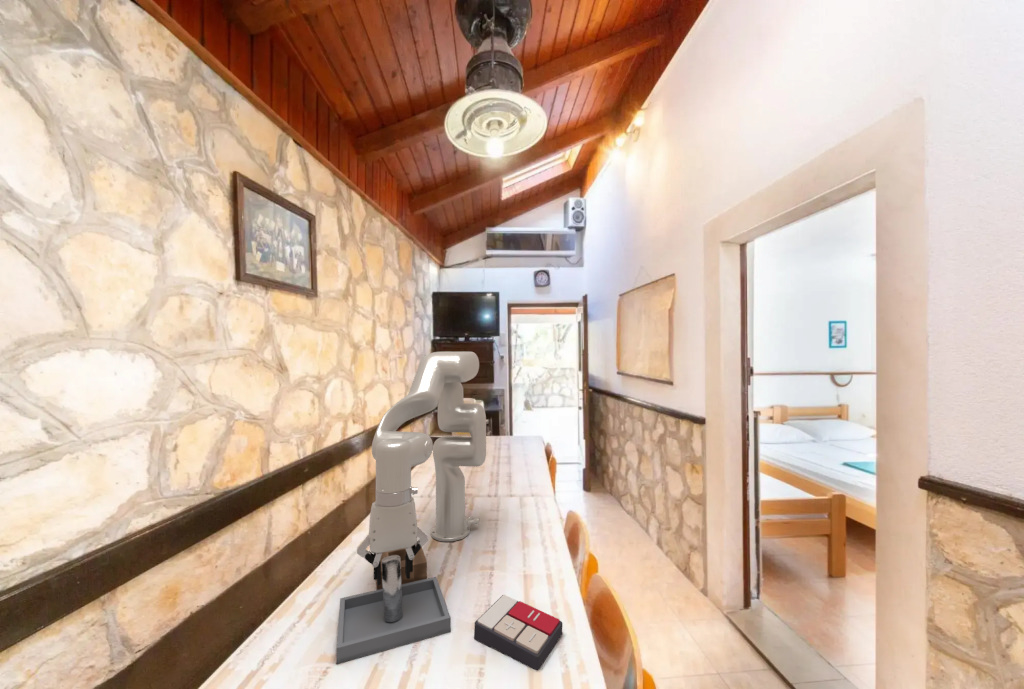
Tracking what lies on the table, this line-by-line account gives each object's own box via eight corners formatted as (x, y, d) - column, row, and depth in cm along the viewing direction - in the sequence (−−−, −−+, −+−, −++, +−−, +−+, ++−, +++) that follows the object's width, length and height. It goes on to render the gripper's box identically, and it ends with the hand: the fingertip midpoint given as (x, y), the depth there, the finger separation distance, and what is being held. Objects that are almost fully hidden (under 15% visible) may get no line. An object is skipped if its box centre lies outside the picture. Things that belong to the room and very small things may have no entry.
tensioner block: (419, 562, 107) (419, 540, 108) (426, 586, 96) (426, 562, 96) (374, 571, 103) (374, 549, 103) (376, 597, 92) (376, 572, 92)
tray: (436, 588, 95) (436, 576, 95) (450, 631, 80) (450, 617, 80) (340, 611, 87) (340, 598, 87) (336, 664, 72) (336, 648, 72)
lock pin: (401, 609, 86) (399, 553, 88) (403, 618, 83) (401, 560, 84) (383, 614, 85) (381, 557, 86) (384, 624, 81) (382, 564, 83)
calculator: (538, 653, 70) (473, 618, 78) (537, 676, 70) (473, 639, 78) (563, 618, 80) (503, 590, 88) (562, 638, 80) (502, 609, 88)
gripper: (429, 485, 91) (429, 561, 91) (351, 495, 85) (351, 578, 84) (435, 496, 84) (435, 579, 84) (351, 508, 78) (350, 598, 77)
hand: (393, 577), depth 84 cm, fingers open, 5 cm apart
